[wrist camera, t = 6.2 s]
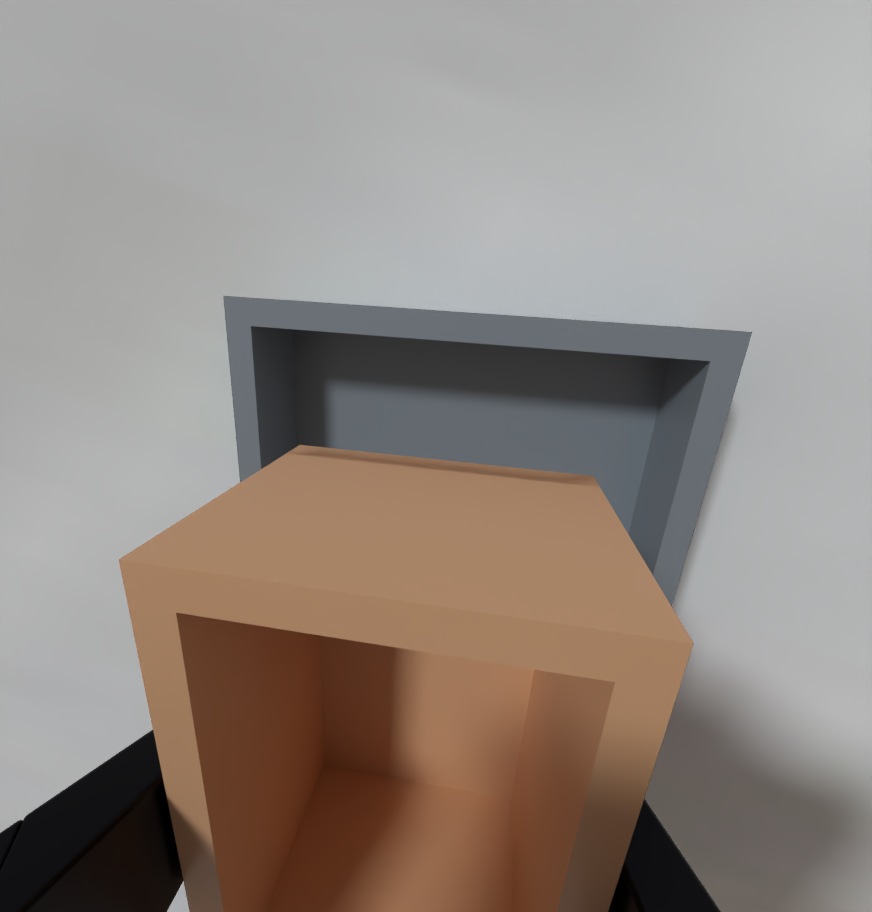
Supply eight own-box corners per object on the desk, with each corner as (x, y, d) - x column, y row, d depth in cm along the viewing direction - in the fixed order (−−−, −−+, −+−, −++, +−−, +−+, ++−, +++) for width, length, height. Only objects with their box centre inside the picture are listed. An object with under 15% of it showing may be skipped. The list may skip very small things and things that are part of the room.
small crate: (312, 753, 12) (207, 998, 8) (299, 444, 9) (118, 560, 5) (531, 795, 11) (550, 1091, 7) (593, 476, 8) (693, 642, 4)
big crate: (296, 620, 20) (257, 678, 17) (280, 300, 16) (223, 295, 13) (608, 669, 19) (630, 744, 16) (693, 328, 14) (751, 332, 11)
